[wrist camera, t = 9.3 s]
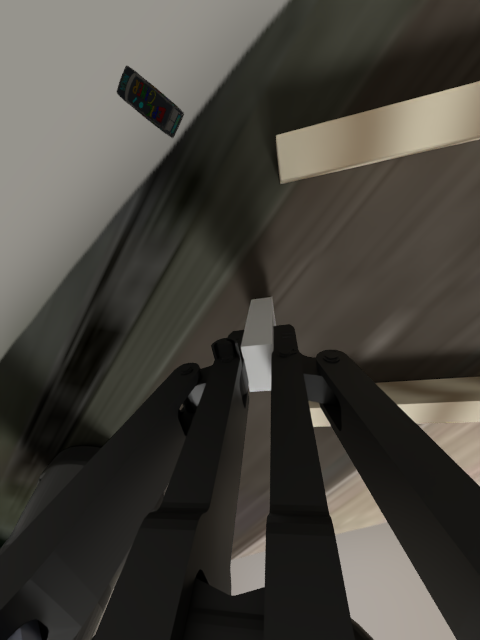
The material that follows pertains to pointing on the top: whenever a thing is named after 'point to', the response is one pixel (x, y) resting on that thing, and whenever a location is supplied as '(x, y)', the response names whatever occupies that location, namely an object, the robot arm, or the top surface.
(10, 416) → the top surface
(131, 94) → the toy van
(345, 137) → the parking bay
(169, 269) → the top surface
